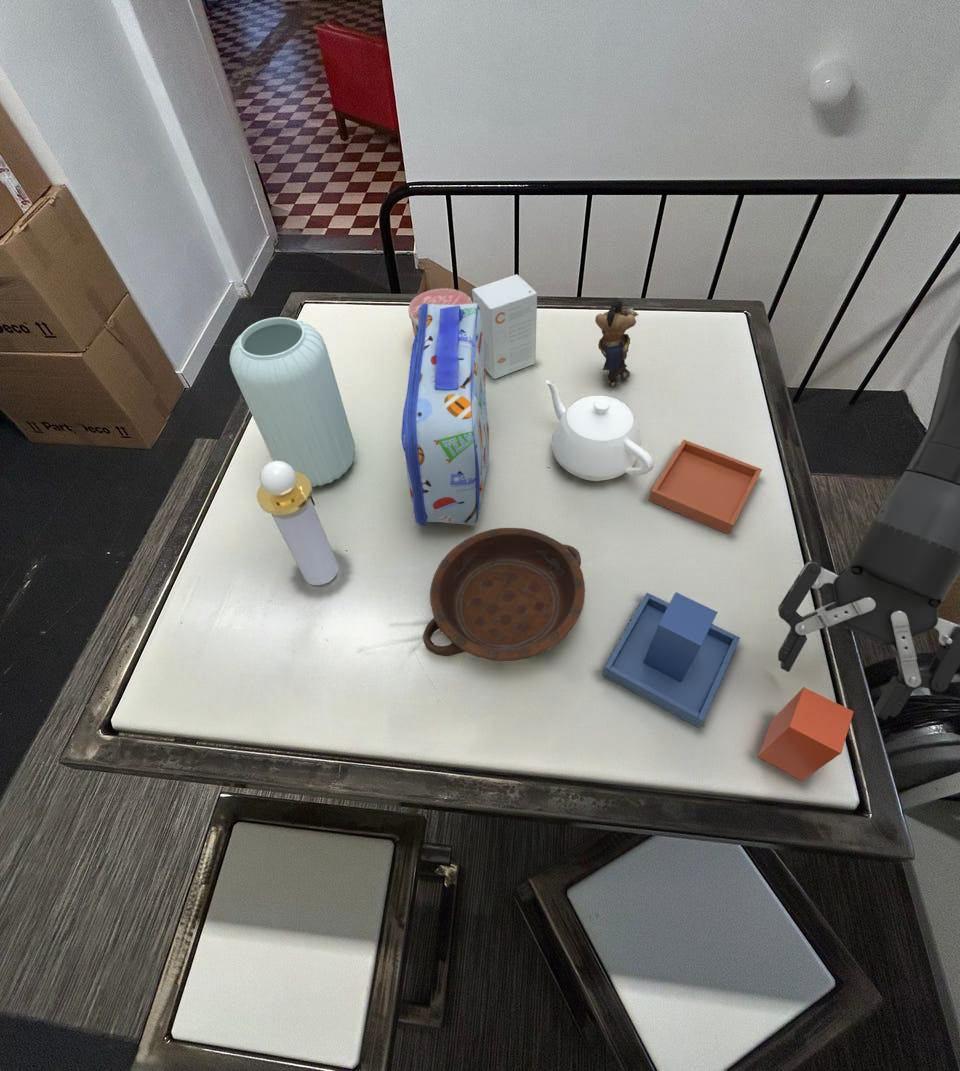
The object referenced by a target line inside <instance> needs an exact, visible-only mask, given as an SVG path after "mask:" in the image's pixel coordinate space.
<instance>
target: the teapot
mask: <svg viewBox="0 0 960 1071" xmlns="http://www.w3.org/2000/svg"><path fill="white" fill-rule="evenodd" d="M545 383H546V385H547V386H548V388H549V390H550V391H549V392H550V394H551V399H552V405H553V408H554V413H555V415H556V417H557V419H558V422H557V424H556V426H555V427H554V430H553V433H552V436H551V449H552V453H553V455H554V458H555V460H556V461H557V463H558V464H559V466H561V467H562V468H563V469H564V470H565V471H567V472H568V473H569V474H571V475H573V476H575V477H577V478H579V479H582V480H585V481H592V482H600V481H607V480H614V479H615V478H618V477H621V476H622V475H624V474H628V475H630V476H644V475H646V474H648V473H650V472H651V471H652V470H653V468H654V463H655V462H654V460H653V458H652V456H651V455H650V454H649V453H648V452H647V451H646V450H645V449H644V448H642V438H641V432H640V428H639V425H638V422H637V419H636V416H635V415H634V413H633V412H632V410H631V409H630V408H629V406H628V405H627V404H626V403H624V402H623V401H622V400H620V399H617V398H616V397H612V396H609V395H608V396H607V395H602V394H600V395H599V394H597V395H596V394H595V395H588V396H583V397H580V398H579V399H577V400H575V401H574V402H573V403H571V405H569V406H568V407H567V408H566V407H565V405H564V404H563V402H562V399H561V395H560V392H559V390H558V387H557V385H556V382H555V381H554V380H552V379H547V380H545ZM637 461H640V462H641V464H642V467H641V466H640V467H634V465H635V464H636V463H637Z"/></svg>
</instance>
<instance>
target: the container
mask: <svg viewBox="0 0 960 1071" xmlns="http://www.w3.org/2000/svg"><path fill="white" fill-rule="evenodd" d="M424 303H425V304H437V305H463V304H469V303H473V299H471V297H470V296H469V295H467V294H466V293H465V292H463V291H461V290H458V289H454V288H435V289H429V290H427V291H424V292H421V293H419V294H418V295H416V296H415V297H413V299H412V300H411V301H410V303H409V304H408V307H407V308H408V309H407V311H408V316H409V319H410V321H411V325H412V331H413V335H414V337H415V336H416V331H415V327H414V325H416V326H417V327H418V310H419V307H420V306H421V305H423V304H424Z"/></svg>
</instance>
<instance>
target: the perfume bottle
mask: <svg viewBox="0 0 960 1071" xmlns="http://www.w3.org/2000/svg"><path fill="white" fill-rule="evenodd" d="M259 483H260V485H259V487H258V489H257V492H256V499H257V502H258V504H259V506H260V508H261V509H262V510H263V511H264V512H265V513H268V514H270V515H271V517H272V519H273V521H274V522H275V524H276V526H277V529H278V531H279V532H280V534H281V536H282V538H283V540H284V542H285V544H286V545H287V548H288V550H289V552H290V554H291V556H292V558H293V560H294V562H295V564H296V566H297V568H298V569H299V572H300V574H301V576H302V577H303V579H304V581H305V582H306V583H308V584H310V585H312V586H323V585H326V584H327V583H329V582H331V581H333V579H334V578H335V577H336V576H337V575H338V571H339V563H338V560H337V558H336V556H335V553H334V551H333V548H332V546H331V544H330V541H329V539H328V536H327V535H326V534H327V533H326V532H325V529H324V527H323V524H322V522H321V519H320V517H319V515H318V512H317V510H316V507H315V506H316V503H315V502H314V499H313V487H312V485H311V483H310V480H309V479H308V478H307V477H306V476H305V475H304V474H302V473H300V472H296V471H294V469H293V468H292V467H291V466H290V465H289V464H287V463H286V462H283V461H273V460H272V461H270V462H268V463H266V464H265V465H264V466H263V467H262V468H261V471H260V473H259Z"/></svg>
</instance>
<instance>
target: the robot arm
mask: <svg viewBox="0 0 960 1071" xmlns="http://www.w3.org/2000/svg"><path fill="white" fill-rule="evenodd" d="M935 396H936V397H935V400H934V404H933V407H932V412H931V416H930V420H929V424H928V428H927V430H926V432H925V434H924V436H923V438H922V439H921V441H920V443H918V444H919V445H918V446H917V448H916V450H915V451H914V453H913V455H912V457H911V458H910V460H909V462H908V464H907V466H906V467H905V469H904V470H905V471H903V472H902V473H901V475H900V477H899V478H898V480H897V482H896V483H895V484H894V485H893V486H892V488H891V489H890V491H889V492H888V494H887V495H886V496H885V498H884V501H883V502H882V503H881V505H879V506H878V508H877V509H876V511H875V516H874V517H873V520H872V522H871V524H870V526H869V527H868V529H867V531H866V532H865V534H864V536H863V538H862V539H861V542H860V544H859V545H858V547H857V548H856V551H854V554H853V555H852V558H851V560H850V561H849V563H848V565H847V566H846V568H845V569H843V571H841V572H839V573H838V574H837V573H835V572H833V571H831V570H830V569H828V568H825V567H823V566H821V565H820V564H819V563H818V562H817V561H816V560H808V561H807V562H805V564H804V566H803V567H802V568H801V570H800V572H799V573H798V574H797V577H796V578H795V580H794V581H793V582H792V585H791V586H790V588H789V589H788V591H787V593H785V596H784V597H783V599H782V601H781V602H780V604H779V605H778V607H777V609H778V610H777V611H778V616H779V618H780V619H781V620H783V621H785V623H786V624H788V625H789V627H790V629H789V630H788V633H787V635H786V636H785V638H784V640H783V642H782V644H781V646H780V648H779V649H778V652H777V659H778V662H780V664H779V665H780V669H781V670H783V671H785V672H787V673H789V672H790V671H791V669H792V667H793V666H794V664H795V662H796V660H797V658H798V657H799V655H800V653H801V651H802V650H803V648H804V647H805V644H806V643H807V640H808V637H807V635H809V634H811V633H814V632H817V631H819V630H821V629H824V628H829V627H832V626H835V625H837V624H840V623H841V624H842V625H843V626H844V627H845V628H846V629H847V630H848V631H851V632H853V633H855V634H860V635H863V636H867V637H868V638H870V640H872V641H874V643H878V644H880V645H881V646H885V645H888V646H889V645H890V646H891V648H892V652H893V655H894V657H895V662H896V665H897V669H898V675H897V676H895V675H892V676H891V679H890V680H889V683H888V684H887V685H886V687H885V688H884V690H883V692H882V693H881V695H880V697H879V698H878V700H877V702H876V704H875V705H874V708H873V713H874V715H875V716H876V717H877V718H879V719H881V720H883V721H886V720H887V719H888V718H889V717H892V718H896V717H897V716H898V715H899V714H900V713H901V711H902V710H903V708H904V707H905V705H906V703H907V702H908V700H909V698H911V696H912V693H913V692H914V691H915V690H916V689H919V688H924V689H930V690H934V692H935V691H936V692H939V693H942V692H946V690H948V689H949V686H950V684H951V682H952V680H953V679H954V677H955V675H956V673H957V671H958V669H959V667H960V622H952V621H949V620H948V619H944V618H941V617H939V608H940V606H941V605H942V603H943V601H944V600H945V599H946V596H947V595H948V594H949V592H950V590H951V588H952V586H953V585H954V583H955V582H956V580H957V578H958V577H959V575H960V323H959V324H958V325H957V327H956V329H955V330H954V333H952V336H951V337H950V340H949V343H948V346H947V347H946V352H945V356H944V359H943V363H942V368H941V373H940V378H939V384H938V389H937V391H936V395H935ZM826 584H831V587H832V593H833V598H834V601H833V602H830V603H828V604H825V605H823V606H821V607H818V608H816V609H815V610H813V611H811V612H809V613H806V614H804V615H801V614H800V613H798V612H797V611H798V609H799V607H800V606H801V604H802V603H803V602H804V599H805V598H806V597H807V595H808V594H809V592H810V590H811V589H815V590H818V589H821V588H822V587H823V586H824V585H826ZM933 629H934V630H936V634H935V640H936V641H937V642H938V643H939V646H938V648H937V649H936V652H935V653H934V656H933V658H932V660H931V661H930V663H929V665H928V667H927V669H925V670H924V669H920V668H919V665H918V657H917V653H916V649H915V644H914V639H913V637H917V636H920V635H921V634H924V633H927V632H930V631H931V630H933Z"/></svg>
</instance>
